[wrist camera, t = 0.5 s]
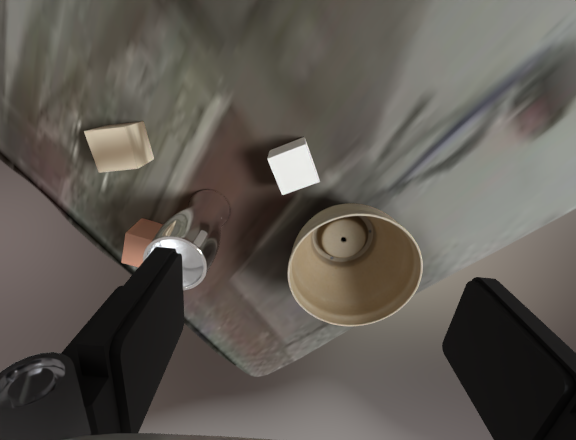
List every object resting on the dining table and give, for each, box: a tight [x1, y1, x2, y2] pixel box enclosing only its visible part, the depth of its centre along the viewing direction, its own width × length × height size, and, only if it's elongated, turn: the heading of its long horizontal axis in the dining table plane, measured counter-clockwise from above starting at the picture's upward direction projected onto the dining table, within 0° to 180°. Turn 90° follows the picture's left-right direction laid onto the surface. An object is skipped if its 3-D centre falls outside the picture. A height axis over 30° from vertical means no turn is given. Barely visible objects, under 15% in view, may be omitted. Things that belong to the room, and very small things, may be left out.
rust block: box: [122, 218, 164, 267], centre depth 45 cm, size 5×5×5 cm
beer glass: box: [143, 190, 230, 290], centre depth 39 cm, size 7×7×15 cm
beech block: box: [84, 121, 154, 173], centre depth 39 cm, size 5×5×5 cm
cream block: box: [267, 137, 320, 195], centre depth 40 cm, size 5×5×5 cm
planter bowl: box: [288, 203, 423, 326], centre depth 42 cm, size 16×16×11 cm
